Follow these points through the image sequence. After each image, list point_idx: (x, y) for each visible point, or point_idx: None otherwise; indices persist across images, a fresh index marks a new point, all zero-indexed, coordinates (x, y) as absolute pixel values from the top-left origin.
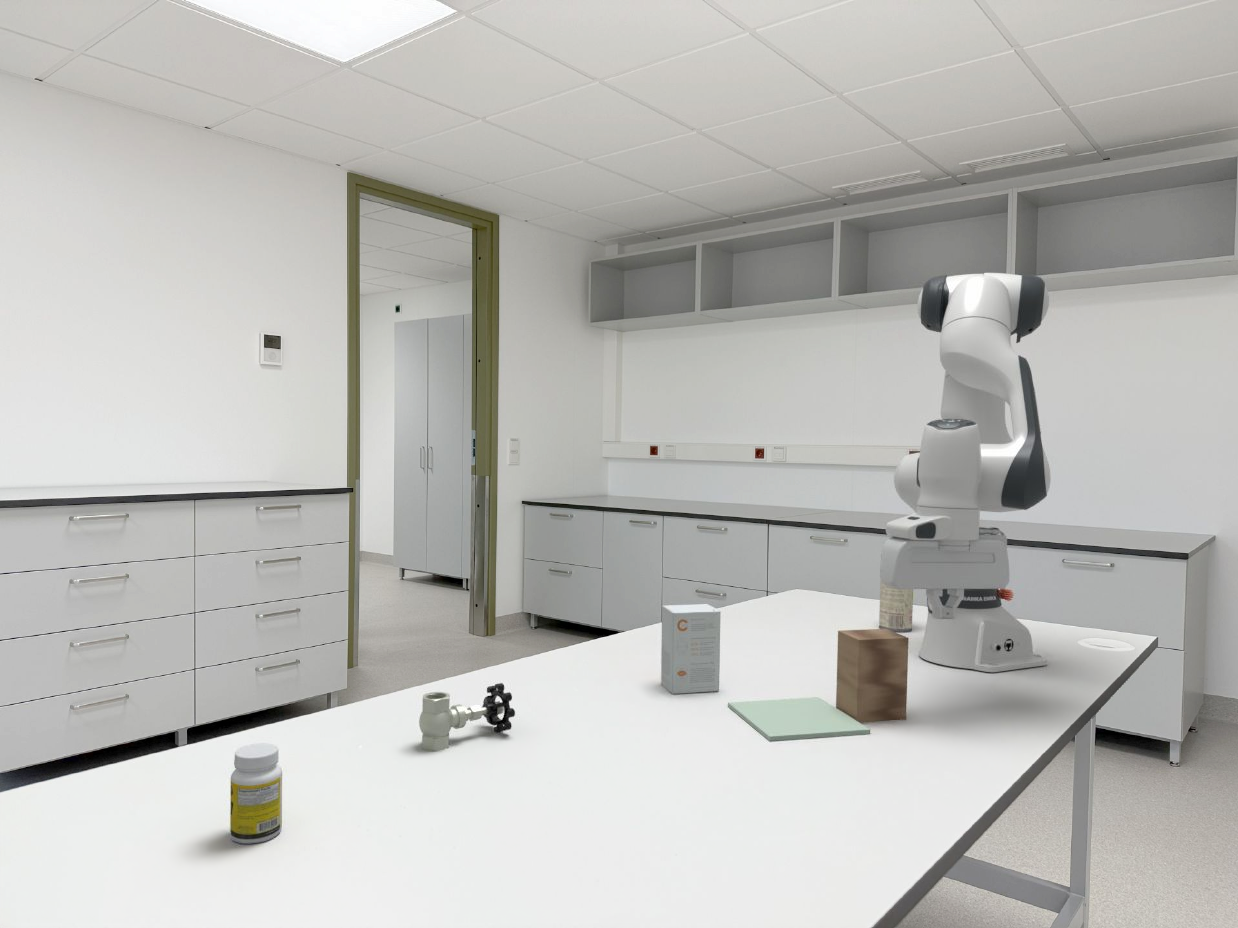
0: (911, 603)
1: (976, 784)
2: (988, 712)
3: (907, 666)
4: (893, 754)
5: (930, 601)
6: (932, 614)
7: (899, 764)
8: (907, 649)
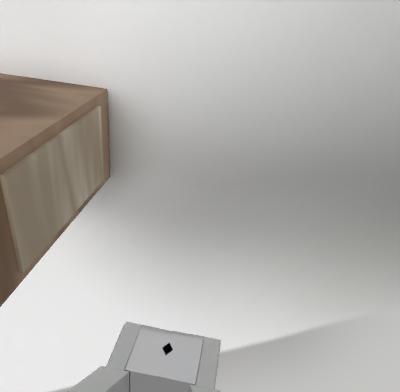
0: None
1: (66, 366)
2: (325, 204)
3: (51, 245)
4: None
5: (78, 389)
6: (123, 329)
7: None
8: (21, 278)
